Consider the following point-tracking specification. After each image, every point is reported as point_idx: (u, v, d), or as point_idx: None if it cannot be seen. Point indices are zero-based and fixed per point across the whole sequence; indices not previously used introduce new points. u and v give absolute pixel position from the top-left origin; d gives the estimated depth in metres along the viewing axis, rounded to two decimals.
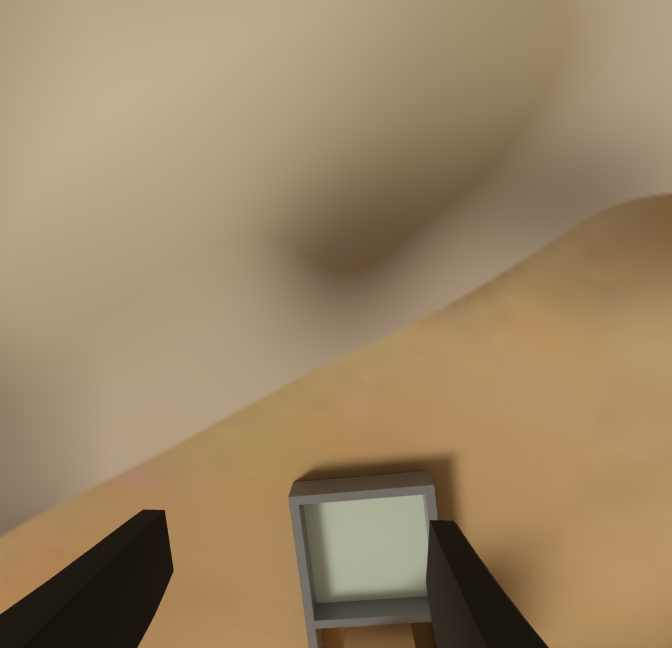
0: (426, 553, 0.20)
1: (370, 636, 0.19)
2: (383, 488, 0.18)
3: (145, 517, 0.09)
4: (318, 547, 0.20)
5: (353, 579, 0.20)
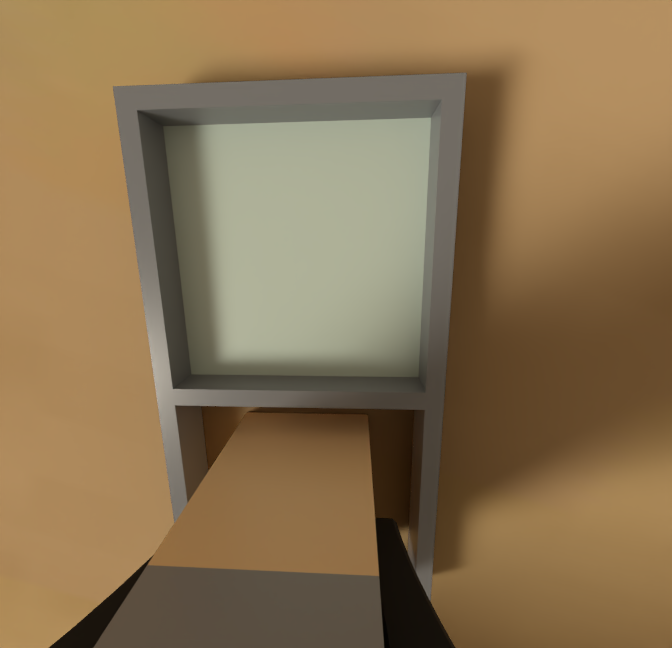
0: (417, 287, 0.09)
1: (285, 434, 0.10)
2: (341, 78, 0.07)
3: None
4: (196, 257, 0.10)
5: (264, 331, 0.10)
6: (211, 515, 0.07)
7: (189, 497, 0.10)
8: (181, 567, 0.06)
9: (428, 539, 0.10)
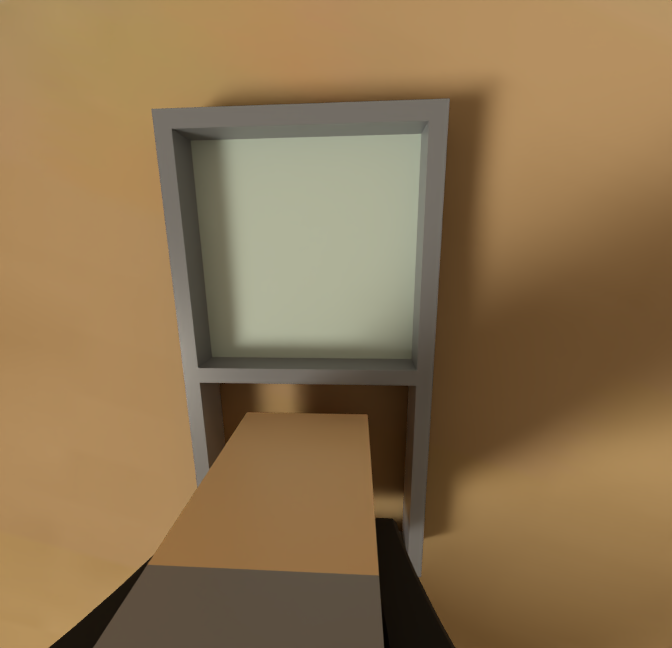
0: (410, 279, 0.11)
1: (285, 433, 0.10)
2: (344, 102, 0.09)
3: None
4: (218, 254, 0.11)
5: (276, 319, 0.12)
6: (211, 515, 0.07)
7: (210, 464, 0.12)
8: (181, 567, 0.06)
9: (420, 500, 0.12)
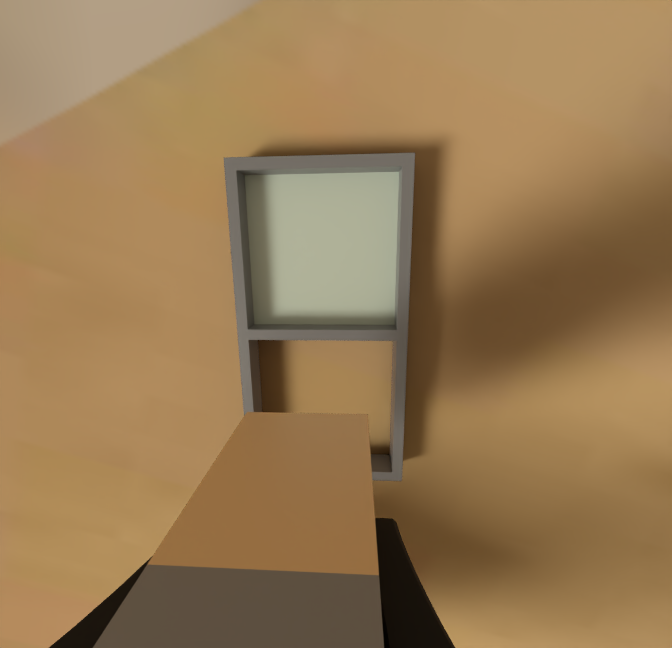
0: (393, 269, 0.16)
1: (285, 433, 0.10)
2: (348, 154, 0.14)
3: None
4: (260, 251, 0.16)
5: (300, 296, 0.17)
6: (211, 514, 0.07)
7: (253, 399, 0.17)
8: (181, 566, 0.06)
9: (400, 423, 0.17)
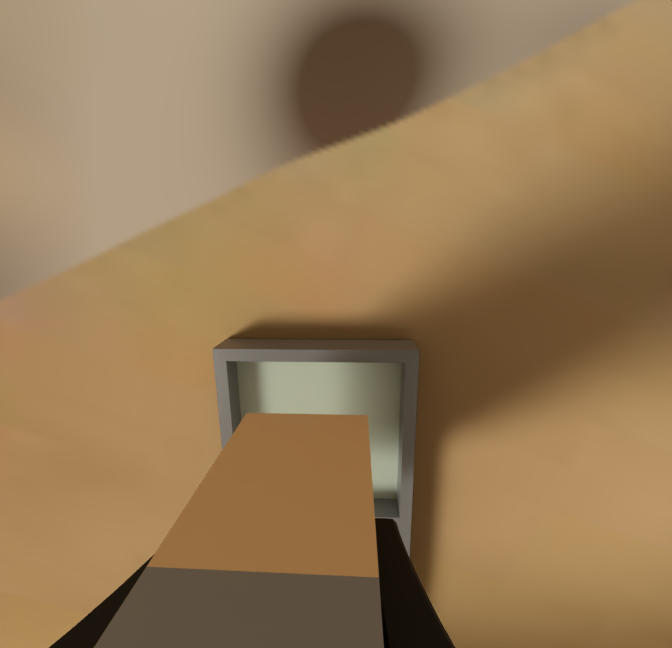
0: (395, 446, 0.15)
1: (285, 434, 0.10)
2: (347, 349, 0.13)
3: None
4: None
5: None
6: (211, 516, 0.07)
7: None
8: (180, 568, 0.06)
9: None
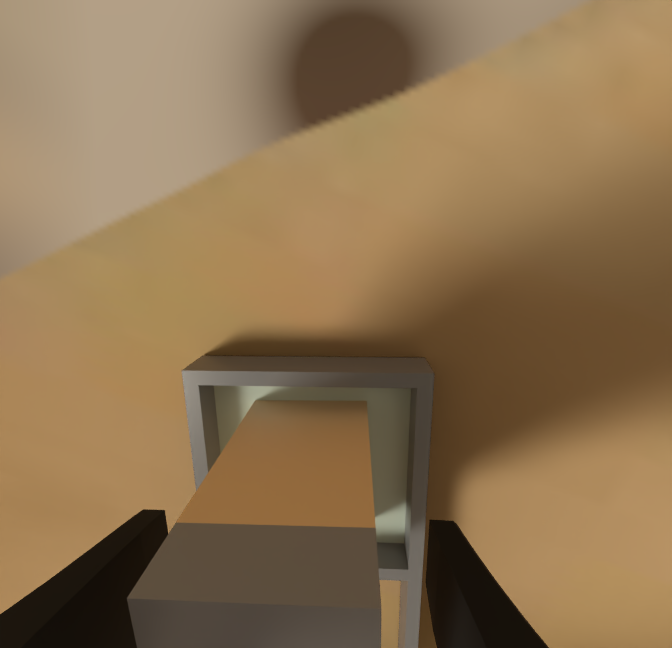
0: (403, 483, 0.13)
1: (291, 418, 0.11)
2: (345, 372, 0.11)
3: (145, 517, 0.09)
4: None
5: None
6: (228, 484, 0.08)
7: None
8: (205, 523, 0.07)
9: None
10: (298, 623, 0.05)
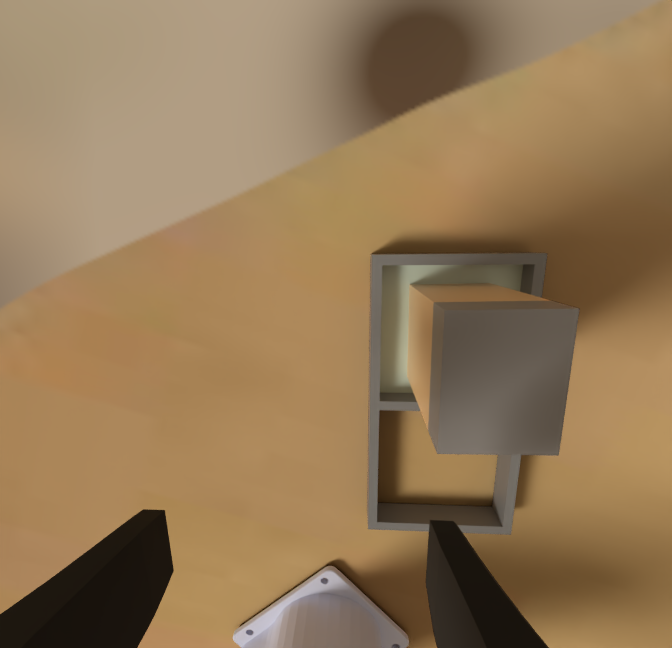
0: None
1: (447, 286, 0.16)
2: (486, 253, 0.16)
3: (145, 517, 0.09)
4: (389, 329, 0.18)
5: None
6: (444, 296, 0.13)
7: None
8: (451, 301, 0.12)
9: (513, 484, 0.18)
10: (534, 320, 0.10)
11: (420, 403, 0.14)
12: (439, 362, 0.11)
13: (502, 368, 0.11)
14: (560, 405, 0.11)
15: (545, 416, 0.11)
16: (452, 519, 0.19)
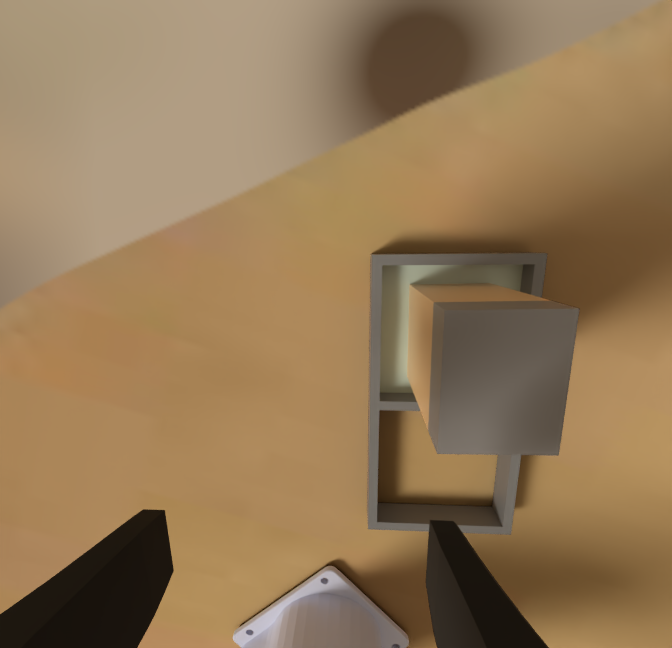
0: None
1: (447, 286, 0.16)
2: (486, 253, 0.16)
3: (145, 517, 0.09)
4: (389, 329, 0.18)
5: None
6: (444, 296, 0.13)
7: None
8: (451, 301, 0.12)
9: (513, 484, 0.18)
10: (534, 320, 0.10)
11: (420, 403, 0.14)
12: (439, 362, 0.11)
13: (502, 368, 0.11)
14: (560, 405, 0.11)
15: (545, 416, 0.11)
16: (452, 519, 0.19)
